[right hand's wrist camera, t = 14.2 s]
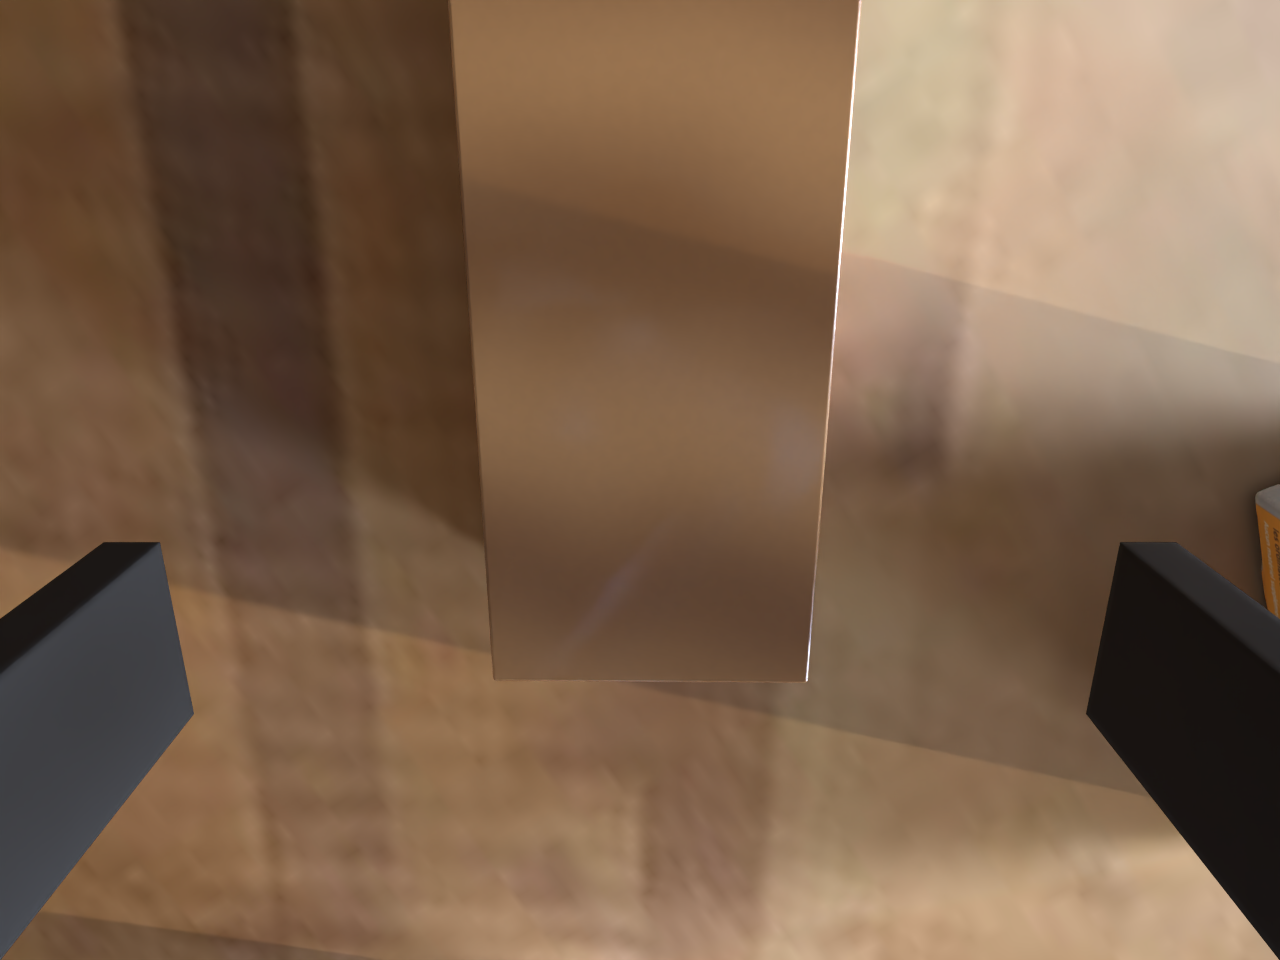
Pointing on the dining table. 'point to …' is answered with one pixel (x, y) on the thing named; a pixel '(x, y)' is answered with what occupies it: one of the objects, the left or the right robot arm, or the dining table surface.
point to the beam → (652, 325)
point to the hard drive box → (1270, 544)
